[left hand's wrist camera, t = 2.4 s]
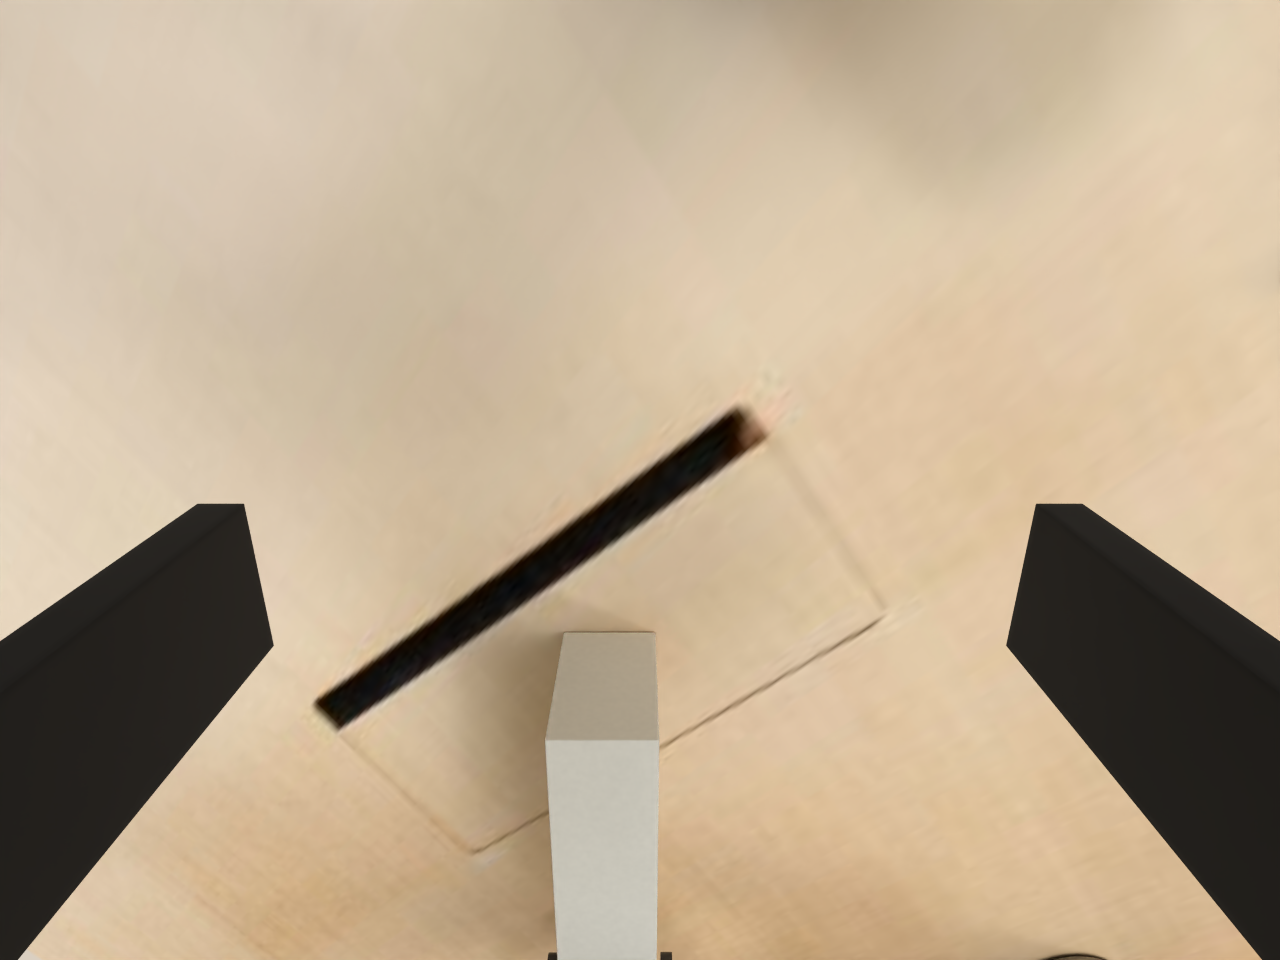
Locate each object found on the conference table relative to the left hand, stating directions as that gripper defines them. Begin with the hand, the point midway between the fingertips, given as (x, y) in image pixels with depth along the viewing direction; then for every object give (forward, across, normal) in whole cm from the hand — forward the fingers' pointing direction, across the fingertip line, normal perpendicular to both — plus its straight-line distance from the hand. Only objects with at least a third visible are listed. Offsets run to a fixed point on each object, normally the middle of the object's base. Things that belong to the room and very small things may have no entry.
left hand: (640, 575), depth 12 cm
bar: (+26, -2, -30) cm, 40 cm away
